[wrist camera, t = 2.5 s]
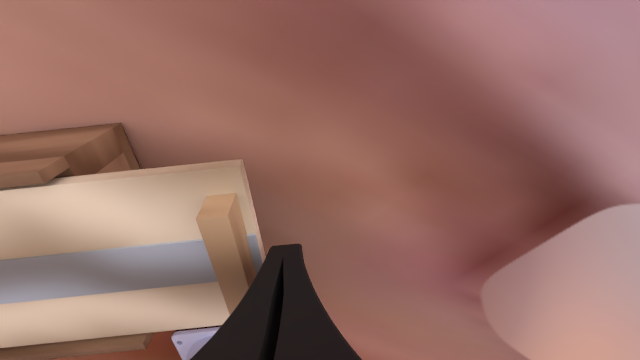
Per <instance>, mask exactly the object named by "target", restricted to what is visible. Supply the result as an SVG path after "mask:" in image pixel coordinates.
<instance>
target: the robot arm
mask: <svg viewBox="0 0 640 360" xmlns="http://www.w3.org/2000/svg"><path fill="white" fill-rule="evenodd" d="M171 339H172V341H173V343H174V345H175V347H176V349H177V350H178V352H179V354H180V356H181V358H182V360H362V359H361V358H360V357H359V356H358V355H357V353H356V352H355V351H354V350H353V349H352V347H351V346H350V345H349V344H348V342H347V341H346V340H345V338H344V337H343V336H342V335H341V333H340V332H339V330H338V329H337V327H336V326H335V324H334V323H333V322H332V320H331V319H330V317H329V315H328V314H327V312H326V310H325V309H324V307H323V305H322V303H321V302H320V300H319V298H318V296H317V294H316V292H315V290H314V288H313V285H312V283H311V281H310V278H309V276H308V273H307V270H306V268H305V264H304V259H303V252H302V246H301V245H300V244H290V245H280V246H272V247H271V248H270V249H269V252H268V254H267V256H266V258H265V260H264V262H263V264H262V266H261V268H260V270H259V272H258V274H257V275H256V277H255V279H254V281H253V282H252V284H251V286H250V287H249V289H248V290H247V292H246V294H245V295H244V297H243V298H242V300H241V301H240V303H239V304H238V305H237V307H236V308H235V310H234V311H233V312H232V313H231V315H230V316H229V317H228V319H227V320H226V321H225V322H224V323H223V325H222V326H221V327H214V328H205V329H195V330H185V331H177V332H174V333H173V335H172V337H171Z"/></svg>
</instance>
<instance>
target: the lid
mask: <svg viewBox="0 0 640 360" xmlns="http://www.w3.org/2000/svg"><path fill="white" fill-rule="evenodd" d="M265 258H266V257H265V252H264V248H263V244H262V240H261V235H260V231H259V227H258V223H257V218H256V214H255V210H254V206H253V201H252V197H251V193H250V189H249V184H248V180H247V176H246V172H245V167H244V163H243V159H238V160H228V161H218V162H208V163H198V164H189V165H179V166H169V167H159V168H150V169H140V170H130V171H120V172H111V173H101V174H91V175H81V176H72V177H62V178H52V179H51V180H49V181H48V182H46V183H44V184H35V185H25V186H15V187H5V188H0V348H7V347H17V346H26V345H36V344H46V343H55V342H65V341H74V340H84V339H93V338H103V337H113V336H122V335H132V334H141V333H151V332H161V331H170V330H180V329H189V328H199V327H209V326H218V325H223V323H224V322H225V321H226V320H227V319H228V317H229V316H230V315H231V313H232V312H233V311H234V310H235V308H236V307H237V305H238V304H239V303H240V301H241V300H242V298H243V297H244V295H245V294H246V292H247V290H248V289H249V287H250V286H251V284H252V282H253V281H254V279H255V277H256V275H257V274H258V272H259V270H260V268H261V266H262V264H263V262H264V260H265Z"/></svg>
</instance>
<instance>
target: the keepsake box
mask: <svg viewBox="0 0 640 360" xmlns="http://www.w3.org/2000/svg"><path fill="white" fill-rule="evenodd" d="M130 170H140V168H139V165H138V163H137V161H136V158H135V156H134V154H133V151H132V149H131V147H130V144H129V142H128V139H127V137H126V135H125V132H124V130H123V128H122V125H121V123H118V124H108V125H98V126H89V127H79V128H69V129H59V130H49V131H39V132H30V133H20V134H10V135H0V188H5V187H15V186H25V185H35V184H44V183H46V182H48V181H49V180H51V179H52V178H62V177H72V176H81V175H91V174H101V173H111V172H120V171H130ZM153 334H154V332H151V333H141V334H132V335H122V336H113V337H103V338H93V339H84V340H74V341H65V342H55V343H46V344H36V345H26V346H17V347H7V348H0V360H46V359H56V358H66V357H75V356H85V355H94V354H104V353H113V352H123V351H133V350H142V349H147V346H148V344H149V342H150V340H151V338H152V336H153Z"/></svg>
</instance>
